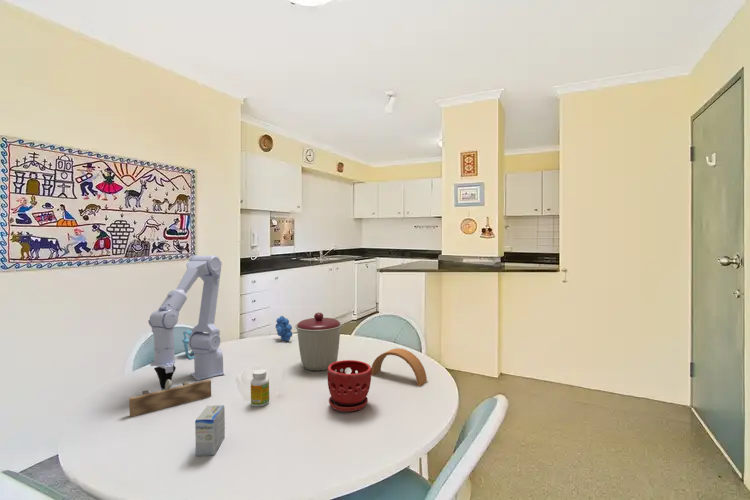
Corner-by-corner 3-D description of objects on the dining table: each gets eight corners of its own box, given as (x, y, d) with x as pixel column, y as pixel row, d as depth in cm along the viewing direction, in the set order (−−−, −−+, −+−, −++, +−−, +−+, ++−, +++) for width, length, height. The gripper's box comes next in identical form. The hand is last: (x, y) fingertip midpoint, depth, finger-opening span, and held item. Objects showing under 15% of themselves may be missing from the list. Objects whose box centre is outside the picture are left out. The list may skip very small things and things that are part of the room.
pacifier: (157, 407, 116) (178, 400, 120) (155, 387, 116) (177, 381, 120) (150, 400, 122) (171, 393, 126) (149, 380, 121) (170, 375, 125)
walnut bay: (202, 386, 132) (201, 371, 132) (211, 396, 124) (210, 380, 123) (125, 404, 118) (125, 388, 118) (130, 417, 110) (129, 399, 110)
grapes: (269, 340, 189) (268, 316, 188) (280, 337, 194) (280, 314, 193) (284, 344, 181) (283, 319, 181) (295, 341, 186) (295, 316, 186)
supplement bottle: (264, 407, 115) (263, 375, 115) (247, 406, 116) (246, 374, 116) (272, 400, 120) (271, 369, 120) (256, 398, 121) (255, 368, 121)
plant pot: (337, 419, 107) (337, 376, 107) (321, 401, 119) (321, 363, 118) (379, 409, 113) (379, 368, 113) (360, 393, 125) (359, 356, 124)
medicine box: (207, 439, 98) (206, 405, 97) (225, 438, 98) (224, 404, 98) (195, 456, 90) (194, 420, 89) (215, 455, 90) (214, 419, 90)
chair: (197, 351, 172) (196, 325, 171) (207, 355, 167) (206, 327, 166) (180, 356, 165) (179, 328, 165) (190, 359, 161) (189, 331, 160)
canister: (286, 371, 146) (285, 315, 145) (311, 357, 163) (310, 307, 162) (328, 377, 139) (327, 319, 138) (350, 361, 156) (349, 309, 155)
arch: (379, 370, 146) (379, 344, 146) (426, 381, 135) (426, 353, 134) (370, 375, 141) (370, 348, 141) (419, 387, 130) (419, 357, 130)
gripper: (146, 344, 128) (147, 385, 128) (154, 355, 116) (155, 399, 117) (169, 340, 132) (171, 380, 133) (180, 350, 121) (181, 393, 121)
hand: (165, 388), depth 125 cm, fingers closed
